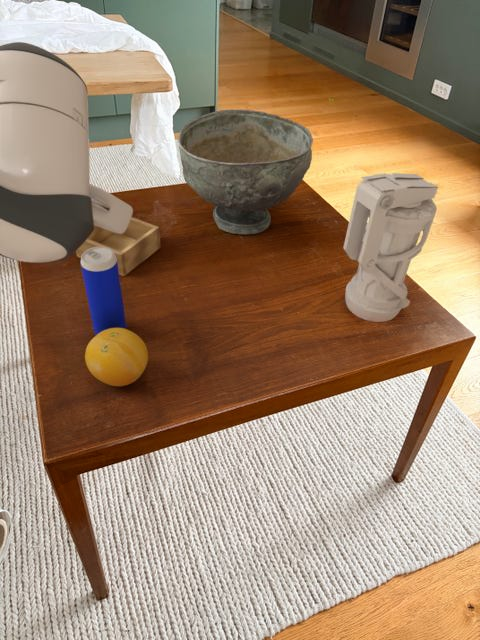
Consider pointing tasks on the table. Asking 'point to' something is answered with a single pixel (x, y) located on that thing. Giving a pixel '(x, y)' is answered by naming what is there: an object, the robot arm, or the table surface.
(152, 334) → the table surface
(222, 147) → the decorative bowl
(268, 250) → the table surface
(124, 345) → the fruit
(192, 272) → the table surface
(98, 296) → the beverage can
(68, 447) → the table surface
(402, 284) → the lantern
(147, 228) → the wooden tray
